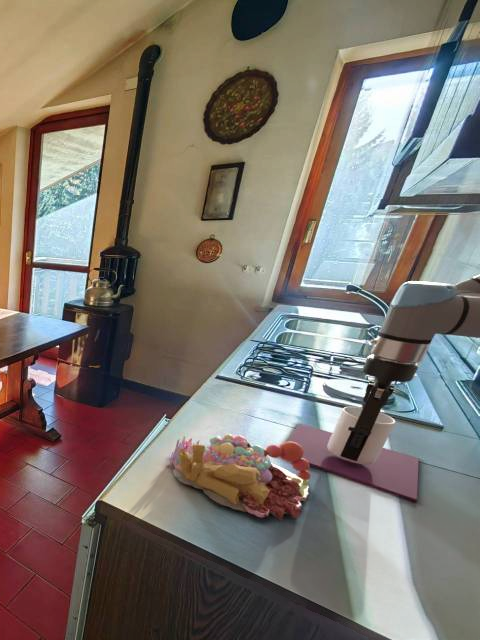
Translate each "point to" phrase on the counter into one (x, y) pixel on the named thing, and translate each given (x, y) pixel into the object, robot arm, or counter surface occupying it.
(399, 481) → the mat
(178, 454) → the food platter
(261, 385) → the counter surface
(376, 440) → the cup
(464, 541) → the counter surface
